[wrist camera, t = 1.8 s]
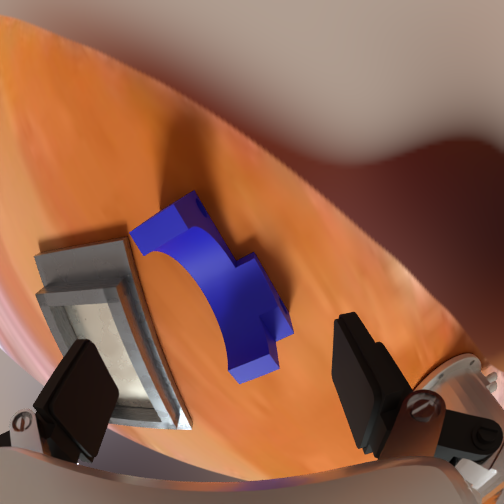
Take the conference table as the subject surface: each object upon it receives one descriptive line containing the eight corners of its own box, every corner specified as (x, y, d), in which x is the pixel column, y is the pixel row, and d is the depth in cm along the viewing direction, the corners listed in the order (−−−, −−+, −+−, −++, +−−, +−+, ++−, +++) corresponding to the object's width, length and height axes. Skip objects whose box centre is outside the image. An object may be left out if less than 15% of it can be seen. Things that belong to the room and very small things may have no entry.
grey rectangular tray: (127, 236, 20) (111, 248, 17) (192, 423, 27) (189, 443, 24) (40, 252, 20) (20, 264, 17) (118, 418, 27) (111, 435, 25)
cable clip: (288, 312, 23) (300, 359, 17) (240, 334, 23) (239, 384, 18) (212, 179, 19) (198, 189, 13) (160, 210, 20) (128, 232, 14)
